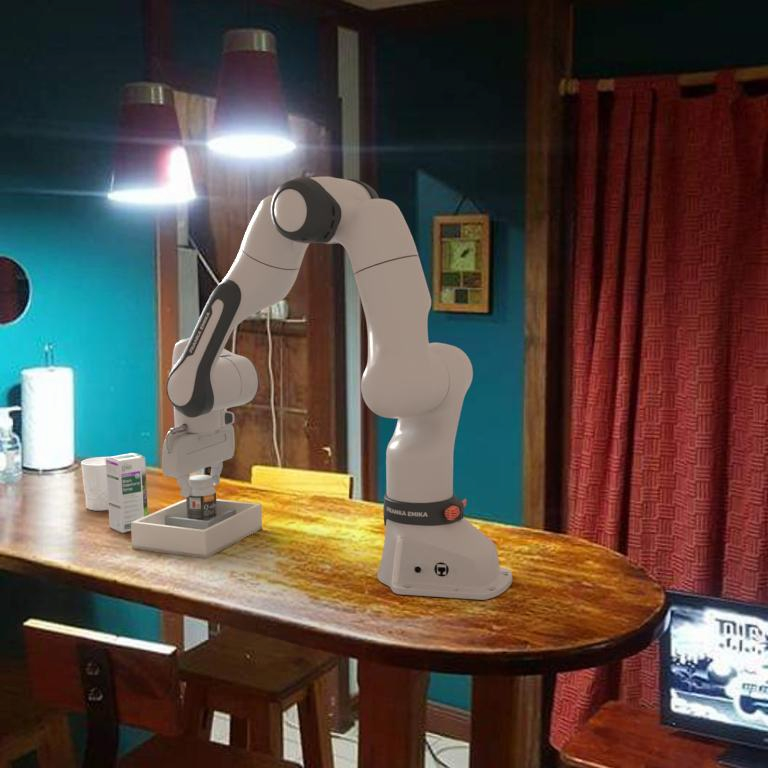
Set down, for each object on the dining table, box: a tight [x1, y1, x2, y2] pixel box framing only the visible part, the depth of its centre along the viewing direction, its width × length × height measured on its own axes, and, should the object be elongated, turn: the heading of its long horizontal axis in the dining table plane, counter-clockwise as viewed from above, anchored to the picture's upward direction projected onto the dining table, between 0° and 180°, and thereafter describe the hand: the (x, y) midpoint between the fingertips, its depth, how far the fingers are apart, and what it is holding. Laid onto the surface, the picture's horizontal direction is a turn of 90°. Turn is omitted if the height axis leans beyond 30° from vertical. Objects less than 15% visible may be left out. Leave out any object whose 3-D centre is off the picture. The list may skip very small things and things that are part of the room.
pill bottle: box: [185, 474, 217, 521], centre depth 202 cm, size 6×6×10 cm
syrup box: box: [105, 452, 149, 534], centre depth 203 cm, size 6×6×14 cm
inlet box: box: [130, 498, 263, 559], centre depth 197 cm, size 16×20×5 cm
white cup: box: [80, 456, 109, 512], centre depth 220 cm, size 8×8×10 cm
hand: (200, 490), depth 201 cm, fingers open, 8 cm apart
